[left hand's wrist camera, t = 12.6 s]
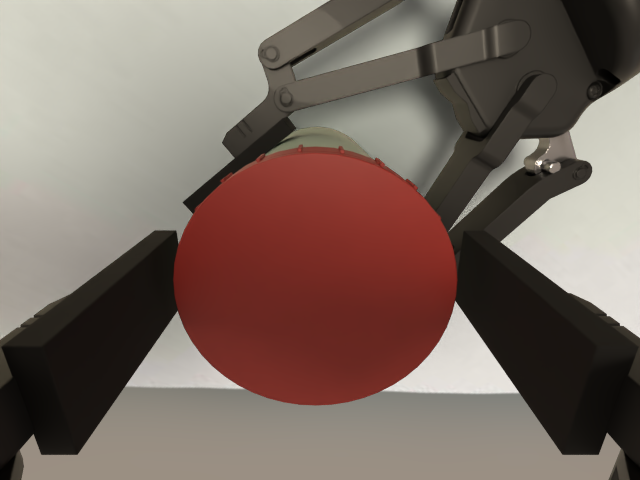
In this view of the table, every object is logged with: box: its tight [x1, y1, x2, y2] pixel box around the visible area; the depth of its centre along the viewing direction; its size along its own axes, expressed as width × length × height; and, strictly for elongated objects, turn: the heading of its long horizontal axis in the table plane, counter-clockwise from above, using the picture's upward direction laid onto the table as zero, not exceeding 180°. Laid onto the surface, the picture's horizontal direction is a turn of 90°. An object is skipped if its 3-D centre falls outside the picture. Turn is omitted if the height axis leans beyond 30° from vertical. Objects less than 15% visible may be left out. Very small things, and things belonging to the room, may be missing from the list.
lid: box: [173, 144, 457, 405], centre depth 12 cm, size 9×9×2 cm
